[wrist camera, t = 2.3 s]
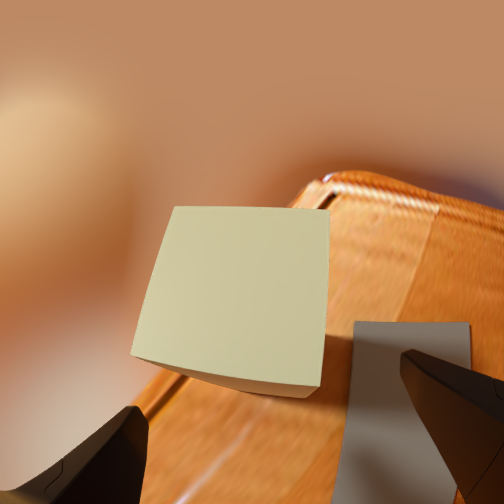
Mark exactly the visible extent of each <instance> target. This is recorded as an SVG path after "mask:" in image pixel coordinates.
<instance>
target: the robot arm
mask: <svg viewBox="0 0 504 504" xmlns="http://www.w3.org/2000/svg"><path fill="white" fill-rule="evenodd" d="M400 376H401V379H402V381H403V383H404V385H405V388H406V390H407V392H408V394H409V397H410V399H411V401H412V404H413V406H414V408H415V410H416V412H417V414H418V416H419V418H420V419H421V421H422V423H423V424H424V426H425V428H426V430H427V431H428V433H429V435H430V437H431V438H432V440H433V442H434V444H435V446H436V447H437V449H438V451H439V453H440V455H441V456H442V458H443V460H444V462H445V464H446V466H447V468H448V469H449V471H450V473H451V475H452V477H453V479H454V481H455V483H456V485H457V487H458V489H459V491H460V493H461V495H462V497H463V499H465V500H464V501H465V503H466V504H504V381H502V380H499V379H496V378H492V377H490V376H487V375H484V374H481V373H478V372H475V371H473V370H470V369H467V368H464V367H462V366H459V365H456V364H453V363H451V362H448V361H445V360H442V359H440V358H437V357H434V356H432V355H429V354H426V353H424V352H421V351H418V350H416V349H413V348H411V349H408V350H406V351H403V352H402V353H401V355H400ZM148 431H149V424H148V421H147V419H146V418H145V416H144V415H143V413H142V412H141V410H140V408H139V407H138V406H126V407H125V408H124V409H122V410H121V411H120V412H119V413H118V414H116V415H115V416H114V417H113V418H112V419H110V420H109V421H108V422H107V423H106V424H104V425H103V426H102V427H101V428H99V429H98V430H97V431H96V432H95V433H93V434H92V435H91V436H90V437H88V438H87V439H86V440H85V441H83V442H82V443H81V444H80V445H78V446H77V447H76V448H75V449H73V450H72V451H71V452H70V453H68V454H67V455H66V456H64V457H63V458H62V459H60V460H59V461H58V462H57V463H55V464H54V465H53V466H51V467H50V468H48V469H47V470H46V471H44V472H43V473H41V474H39V475H38V476H36V477H35V478H33V479H31V480H30V481H28V482H26V483H25V484H23V485H21V486H20V487H18V488H16V489H13V490H10V491H0V504H139V503H140V497H141V490H142V484H143V478H144V472H145V467H146V459H147V445H148Z"/></svg>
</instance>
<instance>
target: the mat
mask: <svg viewBox="0 0 504 504" xmlns="http://www.w3.org/2000/svg"><path fill="white" fill-rule="evenodd" d="M411 348H413V349H416V350H418V351H421V352H424V353H426V354H429V355H432V356H434V357H437V358H440V359H442V360H445V361H448V362H451V363H453V364H456V365H459V366H462V367H464V368H467V369H470V370H471V353H470V331H469V322H446V323H407V322H367V321H355V323H354V333H353V351H352V365H351V377H350V388H349V397H348V406H347V414H346V422H345V429H344V436H343V443H342V449H341V455H340V461H339V466H338V471H337V477H336V482H335V486H334V491H333V496H332V500H331V504H453V501H454V497H455V494H456V490H457V485H456V483H455V481H454V479H453V477H452V475H451V473H450V471H449V469H448V468H447V466H446V464H445V462H444V460H443V458H442V456H441V455H440V453H439V451H438V449H437V447H436V446H435V444H434V442H433V440H432V438H431V437H430V435H429V433H428V431H427V430H426V428H425V426H424V424H423V423H422V421H421V419H420V418H419V416H418V414H417V412H416V410H415V408H414V406H413V404H412V401H411V399H410V397H409V394H408V392H407V390H406V388H405V385H404V383H403V381H402V379H401V376H400V355H401V353H402V352H403V351H406V350H408V349H411Z"/></svg>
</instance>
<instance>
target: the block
mask: <svg viewBox="0 0 504 504" xmlns="http://www.w3.org/2000/svg"><path fill="white" fill-rule="evenodd" d="M329 245H330V210H319V209H298V208H271V207H230V206H229V207H228V206H226V207H225V206H175V208H174V210H173V213H172V215H171V218H170V221H169V224H168V227H167V230H166V233H165V236H164V239H163V241H162V245H161V247H160V250H159V254H158V257H157V260H156V263H155V266H154V270H153V273H152V276H151V279H150V282H149V286H148V289H147V292H146V296H145V299H144V303H143V307H142V310H141V314H140V317H139V321H138V325H137V329H136V333H135V337H134V340H133V344H132V349H131V353H130V355H131V356H134V357H136V358H139V359H141V360H144V361H147V362H150V363H152V364H155V365H157V366H160V367H163V368H166V369H168V370H171V371H174V372H177V373H180V374H183V375H186V376H189V377H192V378H196V379H199V380H202V381H205V382H209V383H212V384H216V385H219V386H223V387H226V388H230V389H234V390H238V391H245V392H252V393H259V394H267V395H275V396H285V397H295V398H307V397H308V396H309V395H310V394H312V393H313V392H314V391H315V390H316V389H317V388H319V387H320V381H321V372H322V362H323V352H324V341H325V328H326V314H327V298H328V277H329Z"/></svg>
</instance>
